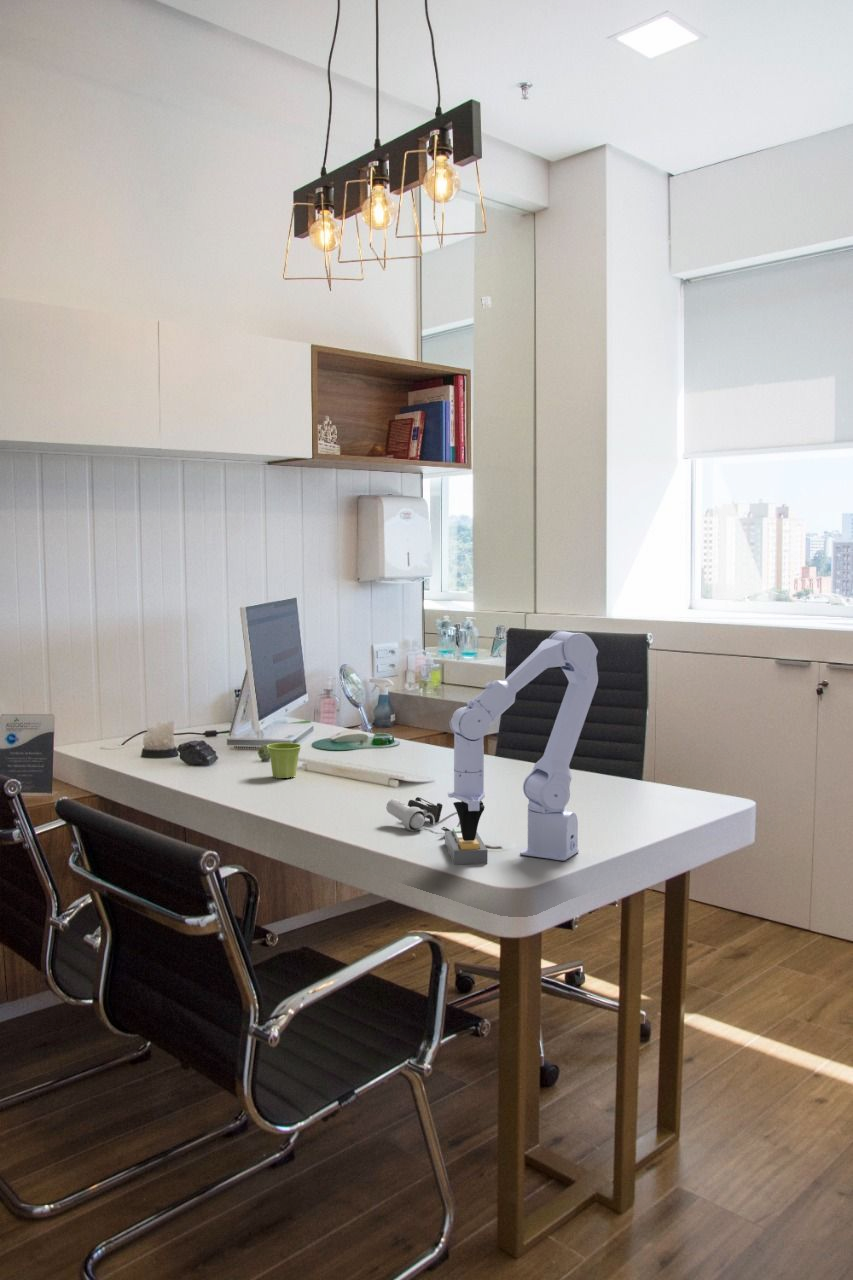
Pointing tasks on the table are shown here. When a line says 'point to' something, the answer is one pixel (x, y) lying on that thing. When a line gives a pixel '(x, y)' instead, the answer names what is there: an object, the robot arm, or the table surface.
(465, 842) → the amber key
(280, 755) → the plant pot
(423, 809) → the clip-on lamp
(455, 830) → the sage key
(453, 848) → the keypad
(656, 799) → the table surface
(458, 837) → the middle key
